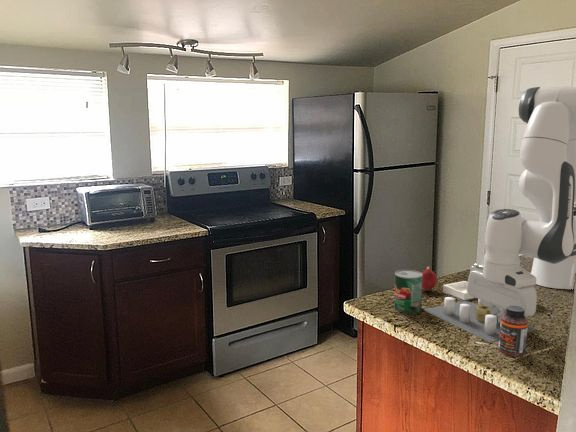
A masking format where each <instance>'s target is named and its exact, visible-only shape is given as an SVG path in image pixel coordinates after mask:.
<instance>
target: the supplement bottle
mask: <svg viewBox="0 0 576 432" xmlns="http://www.w3.org/2000/svg"><path fill="white" fill-rule="evenodd" d="M524 312H525V309H524V308H523V307H520V306H516V305H509V306H507V307H506V314H504V315H502V317H501V325H500V337H499V340H498V350H499V352H500V353H501V354H503V355H506V356H508V357H509V356H510V357H515V358H522V357H524V356H525V354H526V349H527V348H526V347H527V339H528V338H527V337H528V332H527V329H528V326H529V320H528V317H527V318H526V317H525V316H524V314H525V313H524Z"/></svg>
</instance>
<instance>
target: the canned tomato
mask: <svg viewBox="0 0 576 432" xmlns="http://www.w3.org/2000/svg"><path fill="white" fill-rule="evenodd" d="M422 276H423V274H422V272H421V271H417V270H414V269H413V270H412V269H400V270H396V271H395V272H394V303H393V305H394V306H393V307H394V310H395V311H397V312H400V313H404V314H416V313H419V312H421V311H422V306H423V305H422V302H423V301H422V299H423V298H422V297H423V296H422V295H423V288H422Z"/></svg>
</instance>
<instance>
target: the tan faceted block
mask: <svg viewBox="0 0 576 432" xmlns="http://www.w3.org/2000/svg"><path fill="white" fill-rule="evenodd" d="M485 315H491V312H490V309H489V307H488V305H482V304H481V305H478V304H477V306H476V308H475V318H476V320H477V321H480V322H485Z"/></svg>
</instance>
